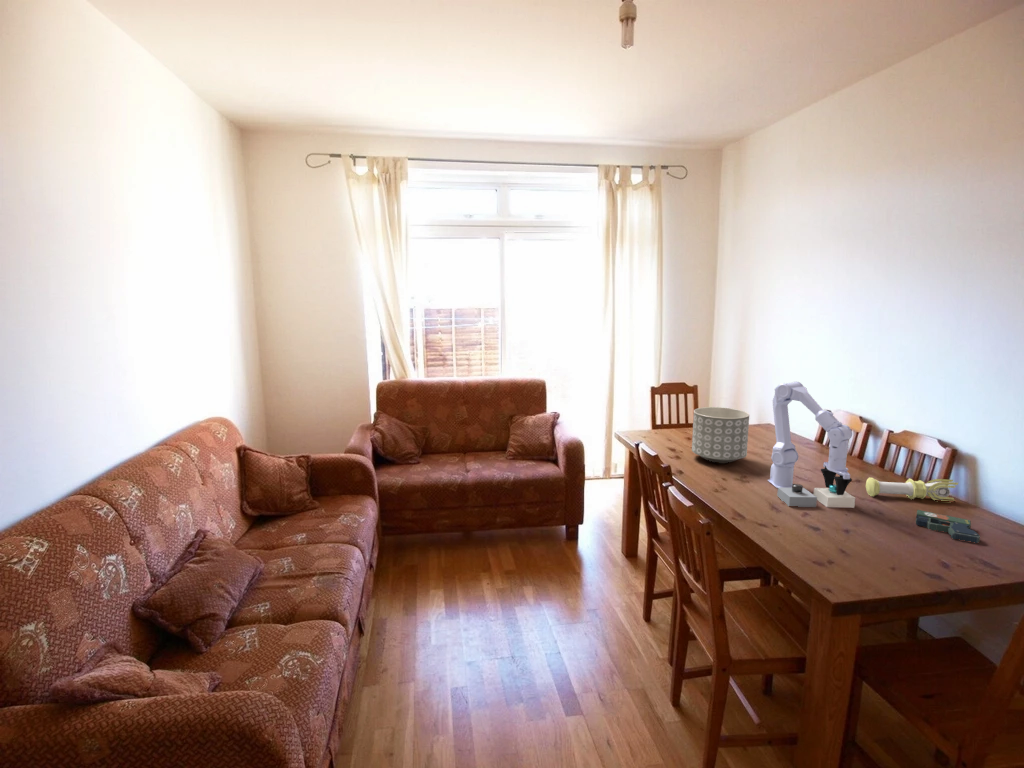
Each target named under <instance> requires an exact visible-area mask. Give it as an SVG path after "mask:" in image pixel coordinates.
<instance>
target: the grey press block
mask: <svg viewBox="0 0 1024 768" xmlns="http://www.w3.org/2000/svg"><path fill="white" fill-rule="evenodd" d="M813 494H814V493H811V492H810V491H809V490H808V489H806V488H805V487H803V490H802V492H800V494H795V493H794V491H792V488H780V487H778V488H777V493H776V496H778V497H779V498H780V499H781V500H780V499H779V498H778V497H777V498H778V499H779V500H780V501H782V502H783V501H784V502H785V503H786V504H787V505H786V504H785V503H784V502H783V503H784V504H785V505H786V506H787V507H789V506H798V507H797V508H817V502H818V500H817V497H816V496H815V495H813Z"/></svg>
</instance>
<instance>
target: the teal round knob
mask: <svg viewBox="0 0 1024 768" xmlns="http://www.w3.org/2000/svg"><path fill="white" fill-rule="evenodd" d="M829 491H831V493H832V494H837V493H836V484H834V483H833V484H830V485H829Z"/></svg>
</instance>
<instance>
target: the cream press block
mask: <svg viewBox="0 0 1024 768" xmlns="http://www.w3.org/2000/svg"><path fill="white" fill-rule="evenodd" d="M812 494H813V495H815V496H816V497H817V502H819V503H821V504H822V505H823V506H825V507H826V508H853V509H855V505H856V504H855V503H856V497H855V496H853V495H851V494H850V493H848V492H847V491H845V492H844V494H843V495H837V494H832V493H831V491H829V488H827V487H814V488H813V493H812Z"/></svg>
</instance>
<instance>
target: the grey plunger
mask: <svg viewBox="0 0 1024 768" xmlns="http://www.w3.org/2000/svg"><path fill="white" fill-rule="evenodd" d="M803 488H804V487H803V485H802V484H798V483H793V484H792V491H794V493H795V494H800V492H802V490H803Z"/></svg>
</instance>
